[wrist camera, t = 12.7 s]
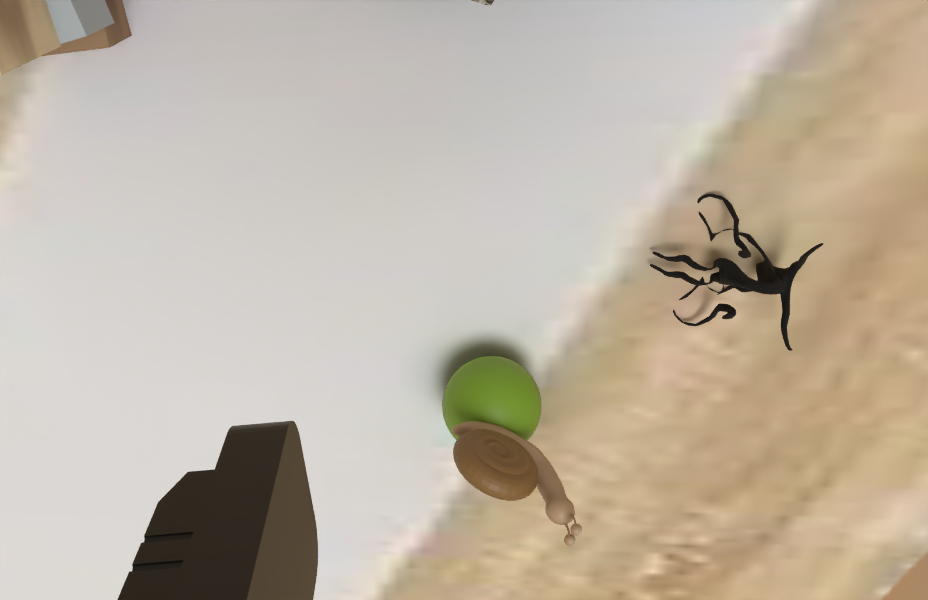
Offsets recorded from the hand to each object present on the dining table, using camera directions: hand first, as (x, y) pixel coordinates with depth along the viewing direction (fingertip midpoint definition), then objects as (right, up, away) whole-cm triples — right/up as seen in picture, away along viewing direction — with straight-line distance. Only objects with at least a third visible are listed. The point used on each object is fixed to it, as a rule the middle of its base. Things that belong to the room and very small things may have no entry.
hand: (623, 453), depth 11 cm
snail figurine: (0, -3, +40) cm, 40 cm away
